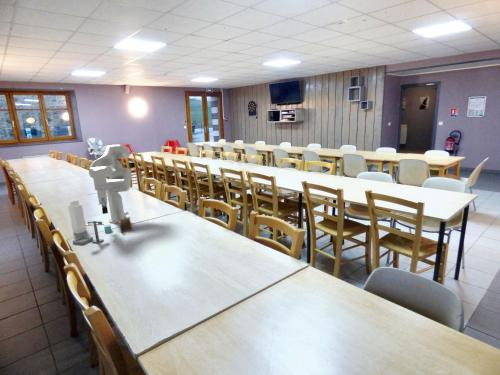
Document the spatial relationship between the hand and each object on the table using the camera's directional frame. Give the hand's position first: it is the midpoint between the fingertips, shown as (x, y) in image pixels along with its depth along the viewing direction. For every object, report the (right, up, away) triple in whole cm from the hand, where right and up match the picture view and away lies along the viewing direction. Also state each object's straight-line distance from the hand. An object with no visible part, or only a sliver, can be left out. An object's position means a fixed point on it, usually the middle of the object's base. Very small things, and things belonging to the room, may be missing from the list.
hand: (105, 211), depth 206 cm
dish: (-7, -18, -14) cm, 24 cm away
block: (+1, -14, +3) cm, 14 cm away
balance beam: (+2, -7, -18) cm, 19 cm away
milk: (-20, -15, +5) cm, 25 cm away
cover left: (+14, -10, 0) cm, 18 cm away
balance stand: (+3, -18, -15) cm, 24 cm away
